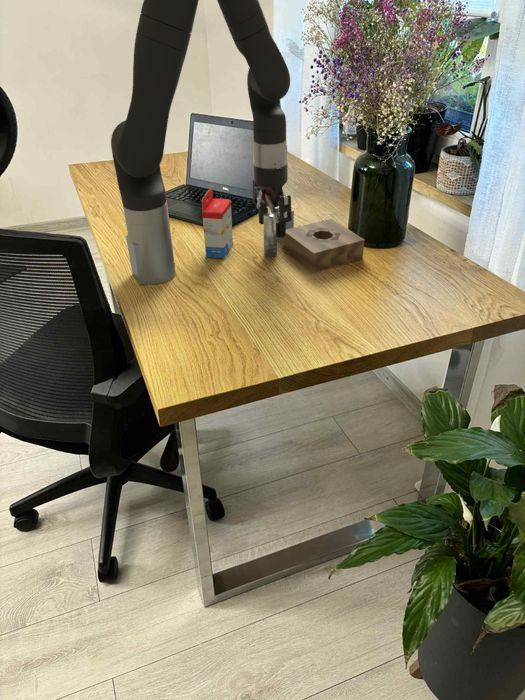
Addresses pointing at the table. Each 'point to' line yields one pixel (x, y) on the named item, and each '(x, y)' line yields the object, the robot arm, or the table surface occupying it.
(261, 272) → the table surface
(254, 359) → the table surface
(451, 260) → the table surface
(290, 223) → the square bar
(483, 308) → the table surface
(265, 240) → the round bit
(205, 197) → the ink box
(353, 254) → the socket block
